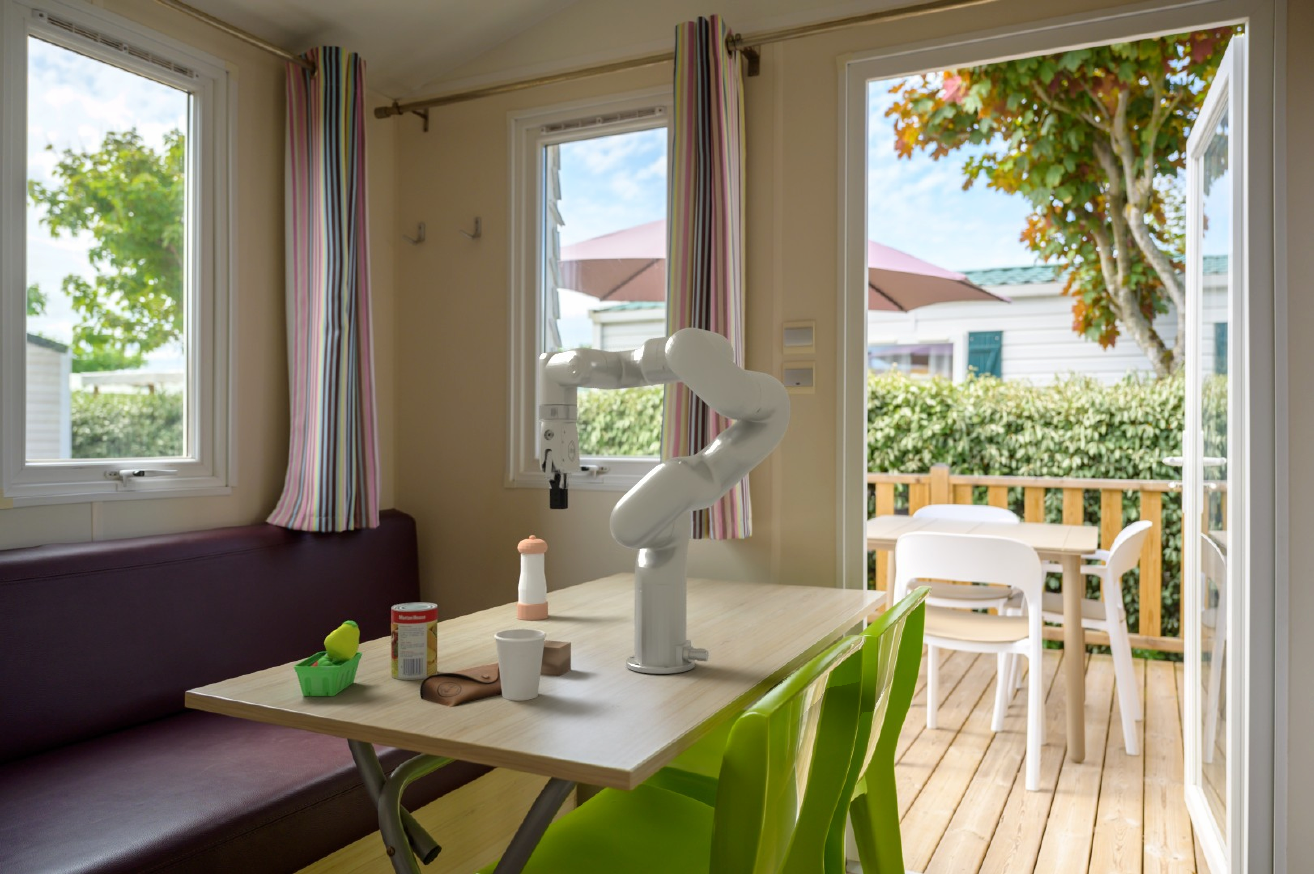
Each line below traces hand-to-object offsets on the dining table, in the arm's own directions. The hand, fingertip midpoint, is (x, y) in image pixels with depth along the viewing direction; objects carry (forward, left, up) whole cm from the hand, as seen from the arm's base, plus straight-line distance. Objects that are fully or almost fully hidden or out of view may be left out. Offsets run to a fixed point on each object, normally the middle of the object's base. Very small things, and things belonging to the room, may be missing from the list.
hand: (558, 508), depth 181 cm
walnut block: (-6, +14, -28) cm, 32 cm away
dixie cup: (-8, +31, -28) cm, 42 cm away
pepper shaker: (+21, -31, -28) cm, 47 cm away
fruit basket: (+23, +37, -28) cm, 52 cm away
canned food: (+16, +24, -28) cm, 41 cm away
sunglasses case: (-1, +31, -29) cm, 42 cm away
